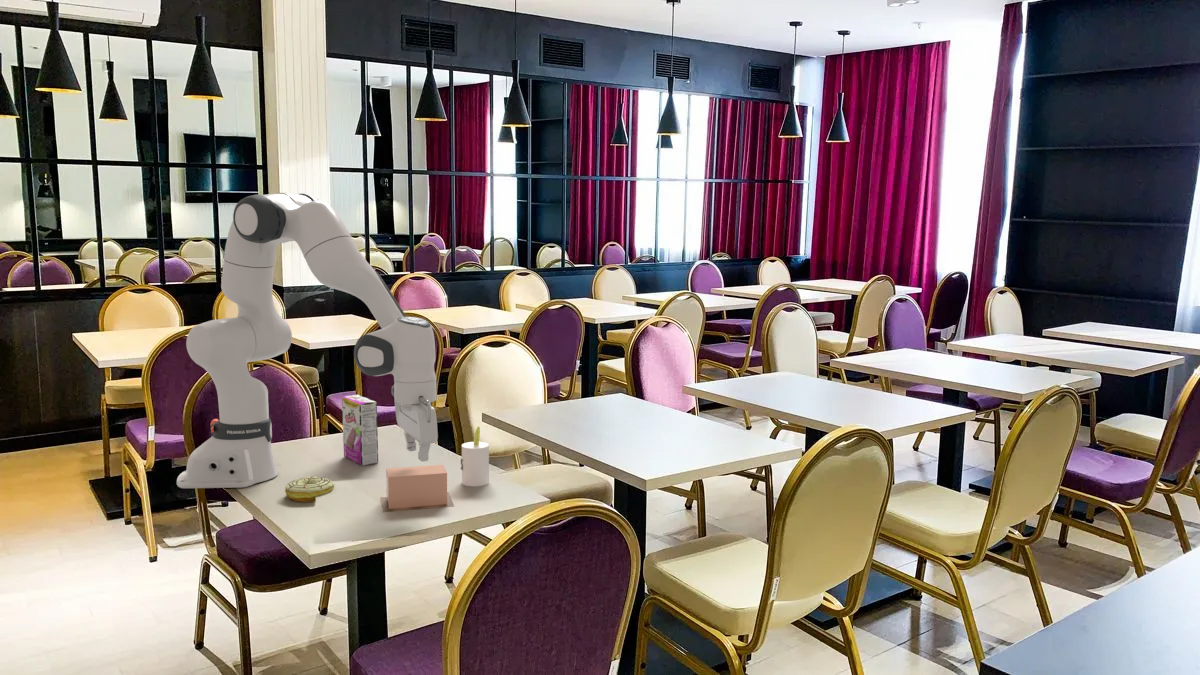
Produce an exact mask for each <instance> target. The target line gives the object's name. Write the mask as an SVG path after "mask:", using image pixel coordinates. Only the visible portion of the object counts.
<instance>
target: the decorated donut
mask: <svg viewBox="0 0 1200 675" xmlns="http://www.w3.org/2000/svg"><path fill="white" fill-rule="evenodd" d="M334 486H335V484H334V482H333V481H332V480H330V479H329V478H327V477H324V476H323V477H322V476H305V477H300V478H298V479H294V480H292V481H290V482H288V483H287V484H286V485H285V488H284V492H285V494H286V496H287V498H288V499H289V500H291V501H293V502H298V503H299V502H301V503H311V502H316V501H317V500H316V499H317V497H318V496H323V495H325V494H328V493H330V492H332V491H333V490H334V488H335V487H334Z"/></svg>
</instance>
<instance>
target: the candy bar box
mask: <svg viewBox="0 0 1200 675" xmlns="http://www.w3.org/2000/svg"><path fill="white" fill-rule="evenodd" d="M341 409H342V410H341V411H342V412H341V413H342V435H343V436H342V437H343V438H342V440H343V457H344V458H346V459H348V460H350V461H352V462H354V463H356V464H358V465H359V466H361V467H364V466H365V467H366V466H370V465H375V464H378V463H379V440H378V432H379V430H378V411H377V410H378V402H377V401H375V400H373V399H370V398H368V397H365V396H362V395H360V394H353V395H352V394H351V395H344V396H341Z"/></svg>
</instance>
